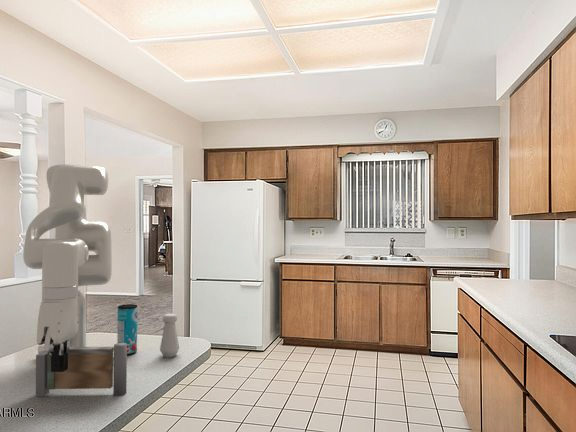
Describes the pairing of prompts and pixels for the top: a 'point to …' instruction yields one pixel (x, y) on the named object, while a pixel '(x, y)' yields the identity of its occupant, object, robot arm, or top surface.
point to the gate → (84, 369)
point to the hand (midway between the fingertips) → (59, 370)
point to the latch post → (41, 374)
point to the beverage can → (127, 327)
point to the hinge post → (120, 369)
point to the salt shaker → (169, 337)
